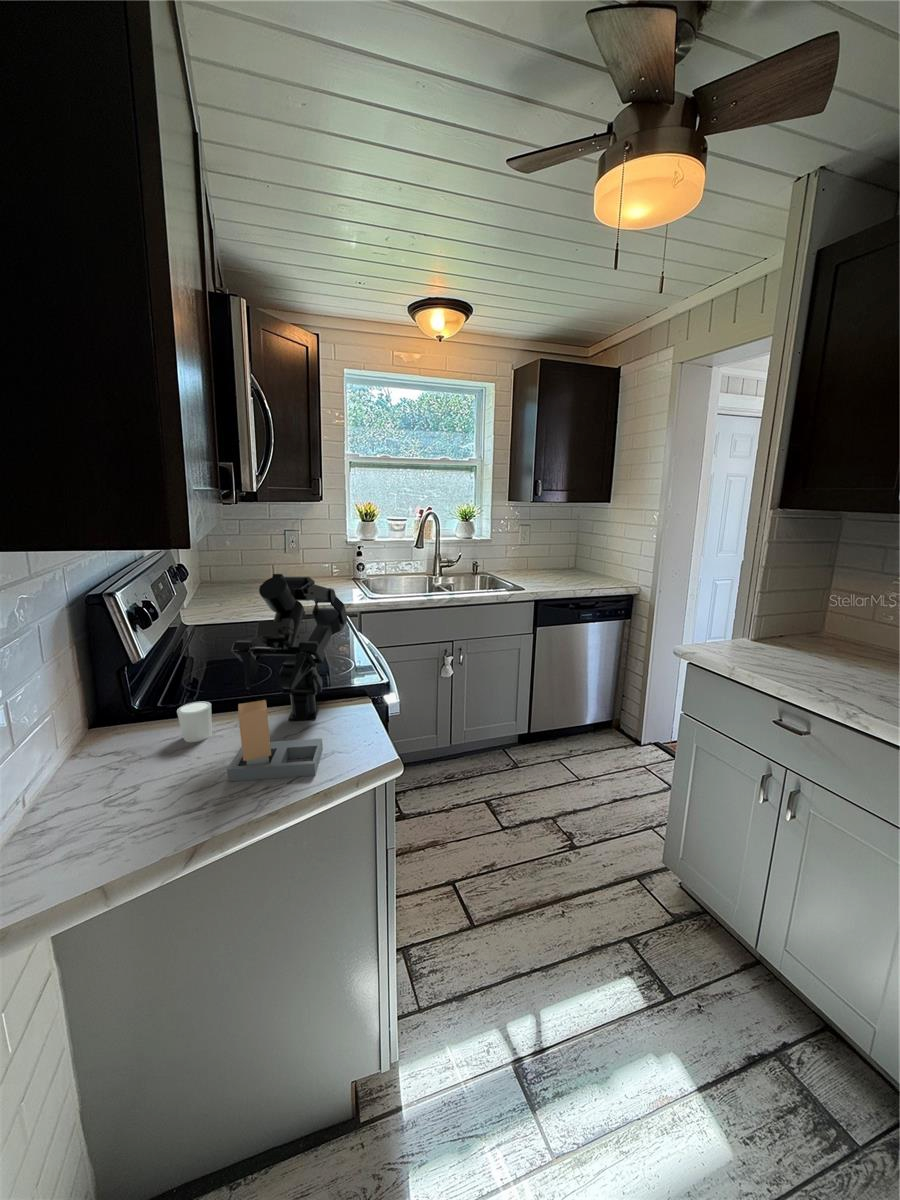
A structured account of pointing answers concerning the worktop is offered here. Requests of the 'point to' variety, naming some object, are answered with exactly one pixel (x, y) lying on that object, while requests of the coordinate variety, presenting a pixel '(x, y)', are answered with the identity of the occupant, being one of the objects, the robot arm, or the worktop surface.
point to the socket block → (279, 761)
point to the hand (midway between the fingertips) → (269, 688)
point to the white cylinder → (195, 721)
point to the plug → (254, 732)
